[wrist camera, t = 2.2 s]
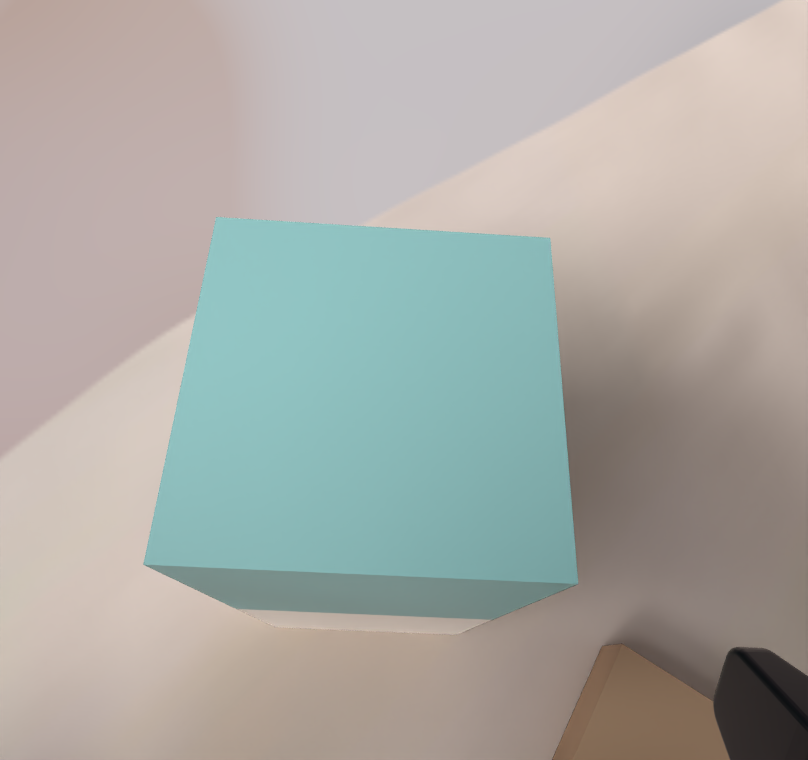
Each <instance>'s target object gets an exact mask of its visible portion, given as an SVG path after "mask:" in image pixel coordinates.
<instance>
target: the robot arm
mask: <svg viewBox="0 0 808 760" xmlns="http://www.w3.org/2000/svg"><path fill="white" fill-rule="evenodd" d="M713 707H714V714H715V719H716V722H717V725H718V728H719V730H720V733H721V736H722V739H723V742H724V745H725V747H726V750H727V753H728V756H729V759H730V760H808V676H807V675H805V674H804V673H802V672H801V671H799V670H798V669H797V668H795V667H794V666H792V665H791V664H789V663H788V662H786V661H785V660H783V659H782V658H780V657H779V656H778V655H776V654H775V653H773V652H771V651H770V650H767V649H764V648H748V647H736V648H732V649H731V650H730V651H729V652H728V654H727V656H726V659H725V662H724V665H723V669H722V672H721V675H720V678H719V682H718V685H717V688H716V691H715V695H714V702H713Z"/></svg>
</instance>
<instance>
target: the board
mask: <svg viewBox="0 0 808 760" xmlns="http://www.w3.org/2000/svg"><path fill="white" fill-rule="evenodd" d="M552 760H730V759H729V756H728V753H727V750H726V747H725V745H724V742H723V739H722V736H721V733H720V730H719V728H718V725H717V722H716V719H715V714H714V707H713V701H712V700H710V699H709V698H707V697H706V696H704V695H702V694H701V693H699V692H698V691H696V690H694V689H693V688H691V687H690V686H688V685H687V684H685V683H683V682H682V681H680V680H679V679H677V678H676V677H674V676H672V675H671V674H669V673H668V672H666V671H665V670H663V669H661V668H660V667H658V666H657V665H655V664H653V663H652V662H650V661H649V660H647V659H646V658H644V657H642V656H641V655H639V654H638V653H636V652H635V651H633V650H631V649H630V648H628V647H627V646H625V645H623V644H616V645H607V646H602V648H601V650H600V652H599V655H598V657H597V659H596V661H595V664H594V666H593V668H592V671H591V673H590V675H589V677H588V680H587V682H586V684H585V686H584V689H583V691H582V693H581V696H580V698H579V700H578V702H577V705H576V707H575V709H574V711H573V714H572V716H571V718H570V720H569V723H568V725H567V727H566V730H565V732H564V734H563V736H562V739H561V741H560V743H559V745H558V748H557V750H556V752H555V755H554V757H553V759H552Z"/></svg>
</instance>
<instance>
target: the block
mask: <svg viewBox="0 0 808 760" xmlns="http://www.w3.org/2000/svg"><path fill="white" fill-rule="evenodd" d="M143 565H145V566H147V567H149V568H152V569H154V570H156V571H158V572H160V573H162V574H164V575H166V576H168V577H170V578H173V579H175V580H177V581H179V582H181V583H183V584H185V585H187V586H189V587H191V588H194V589H196V590H198V591H200V592H202V593H204V594H206V595H208V596H210V597H212V598H215V599H217V600H219V601H221V602H223V603H225V604H227V605H229V606H231V607H233V608H236V609H238V610H240V611H242V612H244V613H246V614H248V615H250V616H252V617H254V618H257V619H259V620H261V621H263V622H265V623H267V624H269V625H271V626H273V627H280V628H304V629H328V630H352V631H376V632H400V633H424V634H448V635H457V634H460V633H462V632H464V631H467V630H469V629H472V628H474V627H476V626H479V625H481V624H484V623H486V622H488V621H491V620H493V619H496V618H498V617H500V616H503V615H505V614H508V613H510V612H512V611H515V610H517V609H520V608H522V607H524V606H527V605H529V604H532V603H534V602H536V601H539V600H541V599H544V598H546V597H548V596H551V595H553V594H556V593H558V592H560V591H563V590H565V589H567V588H570V587H572V586H575V585H577V584H578V575H577V562H576V550H575V538H574V525H573V513H572V501H571V489H570V476H569V464H568V452H567V439H566V427H565V415H564V402H563V390H562V378H561V366H560V353H559V341H558V329H557V316H556V304H555V292H554V279H553V267H552V255H551V242H550V238H542V237H526V236H510V235H494V234H478V233H462V232H446V231H430V230H414V229H398V228H382V227H366V226H349V225H333V224H318V223H302V222H284V221H270V220H269V221H268V220H253V219H238V218H222V217H216V221H215V226H214V230H213V235H212V240H211V244H210V250H209V254H208V259H207V264H206V268H205V274H204V278H203V283H202V287H201V292H200V297H199V302H198V307H197V311H196V316H195V321H194V326H193V330H192V335H191V340H190V345H189V350H188V354H187V359H186V364H185V369H184V373H183V378H182V383H181V388H180V393H179V397H178V402H177V407H176V412H175V416H174V421H173V426H172V431H171V435H170V440H169V445H168V450H167V455H166V459H165V464H164V469H163V474H162V478H161V483H160V488H159V493H158V498H157V502H156V507H155V512H154V517H153V521H152V526H151V531H150V536H149V541H148V545H147V550H146V555H145V560H144V564H143Z"/></svg>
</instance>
